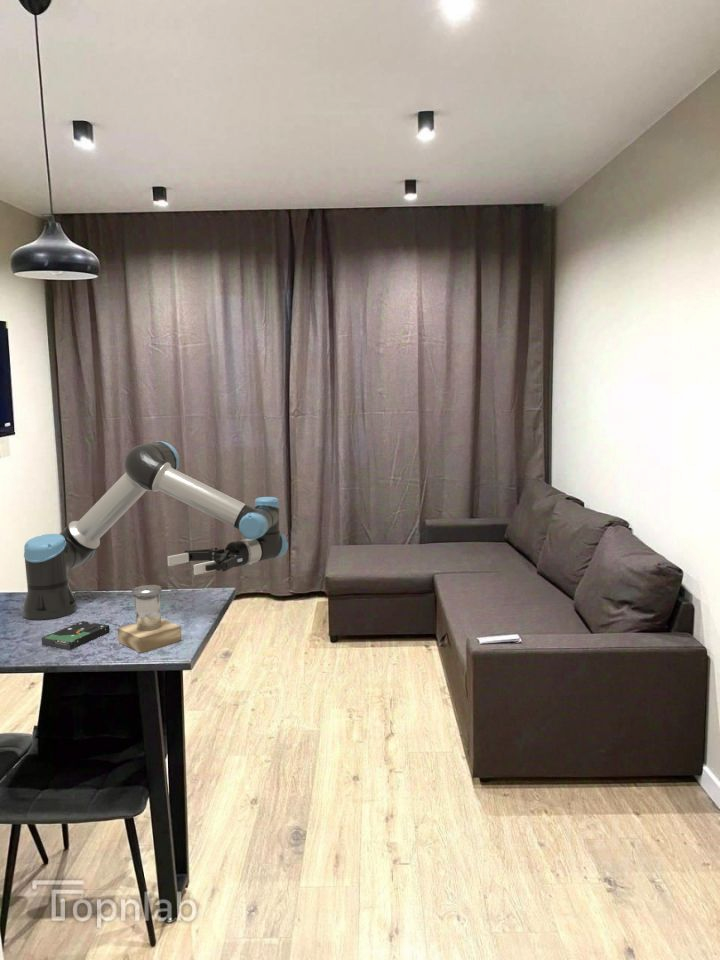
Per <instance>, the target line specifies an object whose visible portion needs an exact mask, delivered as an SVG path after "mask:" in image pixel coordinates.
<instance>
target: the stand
mask: <svg viewBox="0 0 720 960" xmlns="http://www.w3.org/2000/svg"><path fill="white" fill-rule="evenodd" d="M117 640H118V641H117V642H118V643H119V644H122V645H124V646H125V647H128V648H130V649H132V650H134V651H135V652H138V653H141V654H142V653H145V652H146V653H147V652H149V651H151V650H155V649H157V648H158V649H159V648H162V647H164V646H169V645H171V644H175V643H178V642H180V641H182V627H181V625H179V624H177V623H174V622H172V621H168V620H166V619H164V618H161V627H160V628H158V629H156V630H151V631H140V630H137V624H136V622H135V623H130V624H128V625H127V624H126V625H124V626H120V627H117Z"/></svg>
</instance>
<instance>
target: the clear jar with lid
mask: <svg viewBox="0 0 720 960" xmlns="http://www.w3.org/2000/svg"><path fill="white" fill-rule="evenodd" d="M162 590H163V589H162V586H161V585H158V584H157V585H156V584H146V585H139V586H136V587H134V588H132V589H131V595H132V597H134V606H135V607H134V608H135V618H136V619H135V620H136V621H135V623H136V624H137V630H140V631H151V630H156V629H158V628H160V627H161V619H162V615H161V613H162V611H161V596H160V595H161V594H162Z"/></svg>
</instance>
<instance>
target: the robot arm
mask: <svg viewBox="0 0 720 960" xmlns="http://www.w3.org/2000/svg"><path fill="white" fill-rule="evenodd" d="M123 463H124V464H123V465H124V469H125V472H124V473H123V474H122V475H121V476H120V478H118V480H117V481H116V482H115V483H114V484H113V485H112V486H111V487H110V488H109V489H108V490H107V491H106V492H105V493H104V494H103V495H102V496H101V497H100V499H99V500H97V501H96V503H94V505H93V506H91V508H89V509H88V511H87V512H86V513H85V514H84V515H83V516H82V517H81V518H80V519H79V520H73V521H71V522H69V524H68V525H66V527H65V528H63V530H62V531H61V532H60V533H47V534H40V535H38V536H34V537H32V538H30V539H28V540H27V541H26V542H25V544H24V549H23V550H24V551H23V552H24V553H23V558H24V563H25V575H26V576H25V577H26V585H27V592H26V596H25V600H24V602H23V603H24V604H23V608H22V613H23V618H25V619H28V620H34V621H37V620H38V621H39V620H40V621H41V620H43V621H44V620H52V619H58V618H61V617H66V616H68V615H70V614H73V613H74V612H75V611H77V607H78V605H77V601H76V598H75V595H74V594H73V592H72V590H71V587H70V585H69V572H68V571H70V570H73V569H74V568H77V567H79V566H82V565H84V564H86V563H87V562H88V561H89V560H90V559H92V557H93V556H94V554H95V553H96V550H97V549H98V548H99V546H100V544H101V540H100V539H101V537H103V535H105V534H106V533H107V532H108V531H109V530H110V528H112V526H113V525H115V523H117V521H118V520H119V519H120V518H122V517H123V515H124V514H125V513H126V512H128V511H129V509H130V508H131V507H132V506H133V505H134V504H135V503H136V502H137V501H139V499H140V498H141V497H142V496H143V495H144V494H145V493H146V492H155V493H156V492H162V493H163V494H166V495H167V496H170V497H172V498H174V499H176V500H178V501H180V502H182V503H184V504H186V505H189V506H190V507H192V508H194V509H196V510H198V511H201V512H202V513H204V514H206V515H209V516H211V517H213V518H214V519H217V520H219V521H221V522H222V523H225V524H226V525H229V526H231V527H233V528H235V529H237V530H238V531H239V532H240V534H241V535H242V536H243V537H244V538H246V539H241V540H235V541H231V542H229V543H227V545H226V547H225V548H219V549H218V547H213V548H204V549H202V548H201V549H191V550H187V549H186V550H184V553H179V554H173V555H168V556H166V557H167V566H168V567H172V566H178V565H181V564H182V565H183V564H189V562H198V561H201V563H197V564H193V575H194V576H196V575H201V574H206V573H210V572H216V571H217V572H218V571H219V572H220V571H222V572H226V571H228V570H230V569H233V568H236V567H237V568H238V567H241V566H246V565H250V566H252V565H253V563H258V562H262V561H268V560H274V559H277V558H280V557H284V556H285V555H286V553H287V551H288V549H289V542H288V541H287V540H288V539H287V537H286V536H285V535H284V534H283V533H282V532H280V529H281V528H280V524H281V523H280V511H281V508H280V502H279V501H280V500H279V499H278V498H277V497H274V496H262V497H261V496H260V497H257V498H256V499H255V500H254V506H253V507H251V506H249V505H248V504H246V503H244V502H242V501H240V500H238V499H236V498H234V497H231V496H229V495H227V494H226V493H224V492H222V491H220V490H218V489H216V488H213V487H211V486H209V485H208V484H205V483H203V482H201V481H200V480H197V479H195V478H193V477H191V476H190V475H187V474H185V473H183V472H181V471H179V470H178V469H179V466H180V456H179V453H178V451H177V450H176V448H175V447H174V446H173V445H172V444H171V443H169V442H166V441H161V440H159V441H158V440H157V441H152V442H149V443H144V444H140V445H139V444H138V445H136V446H134V447H132V448H131V449H130V450H129V451H128V452H127V454H126V455H125V458H124V462H123ZM202 561H205V562H202Z"/></svg>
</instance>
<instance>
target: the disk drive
mask: <svg viewBox="0 0 720 960" xmlns="http://www.w3.org/2000/svg"><path fill="white" fill-rule="evenodd" d="M110 629H111V628H110V625H109V624H102V623H97V622H92V623H90V622H89V621H84V620H83V621H79V622H77V623H75V624H72V625H69V626H67V627H65V628H63V629H60V630H56V631H55V632H53V633H50V634H47V635H45V636H42V637H41V646H42V645H46V646H45V647H48V646H51V647H50V648H53V647H56V648H55V649H59V648H60V650H65V649H66V651H72V650H74V649H76V648H78V646H79V647H80V645H81V646H83V645H85V644H87V643H89V641H90V642H92V641H95V640H96V639H98V637H99V638H101V637H103V636H105V635H107V633H108V634H109V632H110ZM110 633H111V632H110ZM100 636H101V637H100ZM91 640H92V641H91ZM82 644H83V645H82Z"/></svg>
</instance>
